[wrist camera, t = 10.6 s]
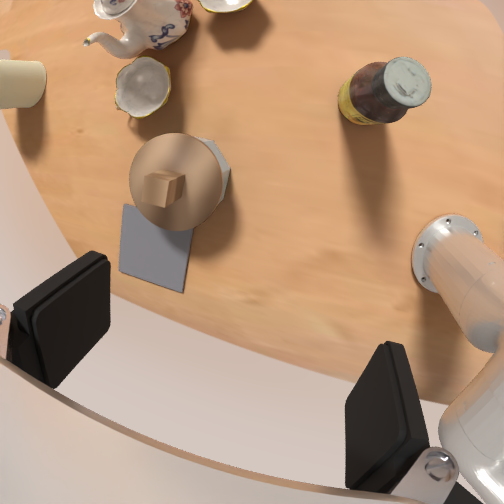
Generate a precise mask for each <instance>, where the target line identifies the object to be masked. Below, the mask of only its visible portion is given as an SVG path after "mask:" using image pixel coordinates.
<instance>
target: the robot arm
mask: <svg viewBox="0 0 504 504" xmlns="http://www.w3.org/2000/svg"><path fill="white" fill-rule="evenodd" d="M447 219H448V220H447ZM446 220H447V221H446ZM474 231H475V232H474ZM420 243H421V244H420ZM419 244H420V245H419ZM412 268H413V271H414V274H415V276H416V278H417V279H418V281H419V283H420V284H421V285H422V286H423V287H424V288H426V289H427V290H429V291H431V292H435V293H439V294H440V296H441V298H442V299H443V301H444V302H445V304H446V305H447V307H448V309H449V310H450V312H451V314H452V315H453V317H454V318H455V320H456V322H457V323H458V325H459V327H460V328H461V330H462V332H463V333H464V335H465V337H466V338H467V339H468V341H469V342H470V343H471V344H472V345H473V346H474V347H476V348H478V349H480V350H482V351H485V352H489V353H494V354H493V355H492V357H491V358H490V359H489V361H488V362H487V363H486V364H485V366H484V368H483V369H482V370H481V371H480V372H479V373H478V375H477V376H476V377H475V378H474V379H473V380H472V381H471V382H470V384H469V385H468V386H467V387H466V388H465V389H464V390H463V391H462V392H461V393H460V394H459V396H458V397H457V398H456V399H455V400H454V401H453V402H452V403H451V404H450V405H449V407H448V408H447V409H446V410H445V412H444V413H443V415H442V417H441V419H440V422H439V427H438V433H439V439H440V442H441V445H442V447H443V448H440V447H430V445H429V438H428V433H427V429H426V425H425V421H424V416H423V412H422V408H421V404H420V400H419V397H418V393H417V389H416V386H415V382H414V379H413V375H412V372H411V368H410V365H409V361H408V358H407V355H406V352H405V348H404V346H403V345H402V344H399V343H395V342H391V341H386V342H385V343H384V344H380V345H379V346H378V347H377V349H376V351H375V352H374V354H373V356H372V358H371V359H370V361H369V363H368V365H367V366H366V368H365V370H364V371H363V373H362V375H361V376H360V378H359V380H358V381H357V383H356V385H355V386H354V388H353V390H352V391H351V393H350V394H349V396H348V398H347V400H346V403H345V435H346V438H345V439H346V471H345V472H346V473H345V486H346V488H349V489H341V488H334V487H327V486H321V485H314V484H309V483H303V482H297V481H292V480H287V479H282V478H277V477H273V476H268V475H264V474H260V473H256V472H252V471H248V470H244V469H241V468H237V467H233V466H230V465H226V464H223V463H220V462H216V461H213V460H210V459H207V458H203V457H201V456H197V455H195V454H192V453H189V452H186V451H183V450H180V449H178V448H175V447H172V446H169V445H167V444H164V443H162V442H159V441H157V440H154V439H152V438H149V437H147V436H145V435H142V434H140V433H138V432H135V431H133V430H131V429H128V428H126V427H124V426H122V425H120V424H117V423H116V422H113V421H111V420H109V419H107V418H105V417H103V416H101V415H99V414H97V413H95V412H93V411H91V410H89V409H87V408H85V407H83V406H82V405H80V404H78V403H76V402H74V401H73V400H71V399H69V398H67V397H65V396H64V395H62V394H60V393H59V392H57V391H55V390H54V389H55V388H57V387H58V386H59V385H60V383H61V382H62V381H63V380H64V379H65V378H66V376H67V375H68V374H69V373H70V372H71V371H72V370H73V369H74V368H75V366H76V365H77V364H78V363H79V362H80V361H81V360H82V359H83V358H84V356H85V355H86V354H87V353H88V352H89V351H90V350H91V349H92V348H93V347H94V345H95V344H96V343H97V342H98V341H99V340H100V339H101V338H102V337H103V335H104V334H105V333H106V332H107V331H108V329H109V327H110V322H111V321H110V269H111V265H110V262H109V261H108V259H107V256H106V255H104V254H101V253H98V252H95V251H89V252H88V253H86V254H85V255H83V256H82V257H80V258H78V259H77V260H76V261H74V262H72V263H71V264H69V265H68V266H66V267H65V268H63V269H62V270H60V271H59V272H58V273H56V274H54V275H53V276H52V277H50V278H49V279H47V280H46V281H44V282H43V283H42V284H40V285H39V286H37V287H36V288H34V289H33V290H31V291H30V292H29V293H27V294H26V295H25V296H23V297H22V298H20V299H19V300H18V301H16V302H15V303H14V304H13V307H14V310H13V311H12V312H10V311H9V309H8V308H7V307H6V306H4V305H1V304H0V504H483V503H482V502H481V501H479V500H478V499H477V498H476V497H475V496H473V495H472V494H471V493H470V492H469V491H467V490H466V489H465V488H464V487H463V486H462V485H460V484H459V483H458V482H457V481H456V480H457V478H458V475H459V472H460V473H461V475H462V476H463V477H464V478H465V479H466V480H467V482H468V483H469V484H470V485H471V486H472V487H473V489H474V490H475V491H476V492H477V493H478V495H479V496H480V497H481V498H482V499H483V500H484V502H485V503H486V504H504V260H503V259H502V258H500V257H499V256H498V255H497V254H496V253H495V252H493V251H492V250H491V249H490V248H489V247H487V246H486V245H485V244H484V243H483V237H482V235H481V232H480V230H479V229H478V227H477V226H476V225H475V224H474V223H473V222H472V221H471V220H470V219H468V218H467V217H464V216H462V215H458V214H446V215H443V216H440V217H438V218H436V219H434V220H432V221H431V222H430V223H428V224H427V225H426V226H425V227H424V228H423V229H422V231H421V232H420V234H419V235H418V237H417V239H416V241H415V243H414V247H413V250H412ZM422 277H423V278H422ZM52 388H53V389H52Z"/></svg>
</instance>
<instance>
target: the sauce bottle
mask: <svg viewBox="0 0 504 504" xmlns="http://www.w3.org/2000/svg"><path fill="white" fill-rule="evenodd" d="M430 92H431V79H430V76H429V74H428V72H427V71H426V69H425V68H424V67H423V66H422V65H421V64H420V63H419V62H417V61H416V60H413V59H412V58H408V57H398V58H395V59H392V60H391V61H389V62H388V63H386V62H374V63H371V64H367V65H366V66H364V67H363V68H361V69H360V70H358V71H357V72H356V73H355V74H354V75H353V76H352V77H351V78H350V79H349V80H348V81H347V82H346V83H345V84H344V85H343V86H342V87H341V89H340V91H339V94H338V106H339V109H340V111H341V113H342V114H343V115H344V116H345V117H346V118H347V119H348V120H350V121H351V122H353V123H356V124H360V125H370V124H385V123H392V122H395V121H398V120H399V119H401V118H402V117H403V116H404V115H405V114H406V112H407V110H408V109H409V108H415V107H417V106H420V105H422V104H423V103H424V102H425V101H426V100H427V99H428V98H429V96H430Z"/></svg>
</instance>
